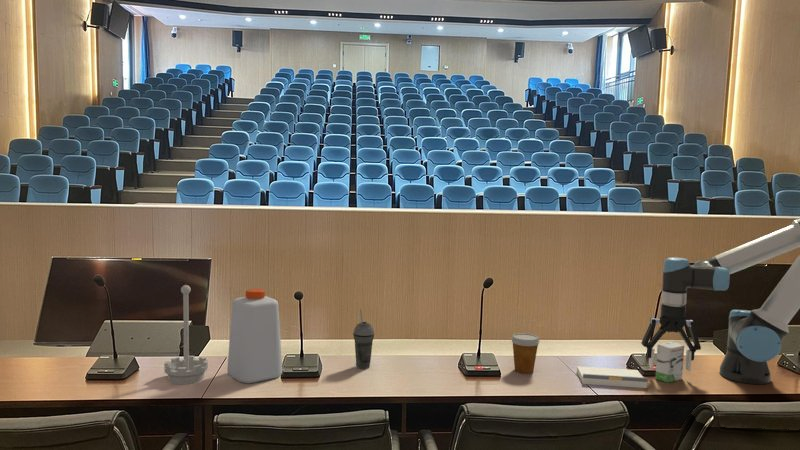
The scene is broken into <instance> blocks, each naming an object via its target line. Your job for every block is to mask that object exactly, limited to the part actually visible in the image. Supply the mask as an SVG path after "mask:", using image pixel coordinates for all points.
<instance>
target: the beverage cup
mask: <svg viewBox="0 0 800 450" xmlns="http://www.w3.org/2000/svg"><path fill="white" fill-rule="evenodd" d="M359 312H360V322H359V323H358V324H356V325H355V327H354V330H353V333H352V335H353V339H354V349H355V350H354V351H355V364H356V368H357V369H361V370H366V369H369V368H370V367H371V361H372V360H371V359H372V349H373V341H374V338H375V331H374V327H373V326H372V325H371V324H370V323H369V322H366V321H364V320H363V312H362V309H359Z"/></svg>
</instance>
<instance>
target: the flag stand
mask: <svg viewBox="0 0 800 450" xmlns="http://www.w3.org/2000/svg"><path fill="white" fill-rule="evenodd" d="M191 291H192V290H191V287H190V286H189V285H188V284H184V285H183V286H181V288H180V293H182V296H183V297H182V302H183V306H182V307H183V311H182V312H183V313H182V314H183V318H182V319H183V359H180V356H176V357H173V358H170V361H169V360H167V361H165V362H164V369H163V371H164V373H165V374H166V375H167V381H168V383H170V384H174V385H189V384H196V383H198V382H201V381H203V380H204V379H205V377H206V376H205V373H206V371H207V370H208V369H209V359H208V360H207V357H204V356H199V357H198V359H197V358H195V357H196V356H195V355H190V351H189V350H190V349H189V348H190V343H189V342H190V340H189V339H190V338H189V332H190V331H189V329H190V328H189V325H190V324H189V321H190V319H189V318H190V317H189V315H190V314H189V310H190V309H189V294H190V293H191Z"/></svg>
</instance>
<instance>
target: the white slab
mask: <svg viewBox="0 0 800 450" xmlns="http://www.w3.org/2000/svg"><path fill="white" fill-rule="evenodd" d="M576 373H577V376H578V377H579V379H580V381H581V383H582V384H583V385H594V386H607V387H611V386H612V387H623V388H627V387H628V388H637V389H638V388H639V389H648V380H649V378H648V377H645V376H643V375H642V373H640V371H639V370H638V369H628V368H627V369H626V368H624V369H623V368H610V367H609V368H608V367H597V366H596V367H595V366H594V367H592V366H579V365H578V366H576Z"/></svg>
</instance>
